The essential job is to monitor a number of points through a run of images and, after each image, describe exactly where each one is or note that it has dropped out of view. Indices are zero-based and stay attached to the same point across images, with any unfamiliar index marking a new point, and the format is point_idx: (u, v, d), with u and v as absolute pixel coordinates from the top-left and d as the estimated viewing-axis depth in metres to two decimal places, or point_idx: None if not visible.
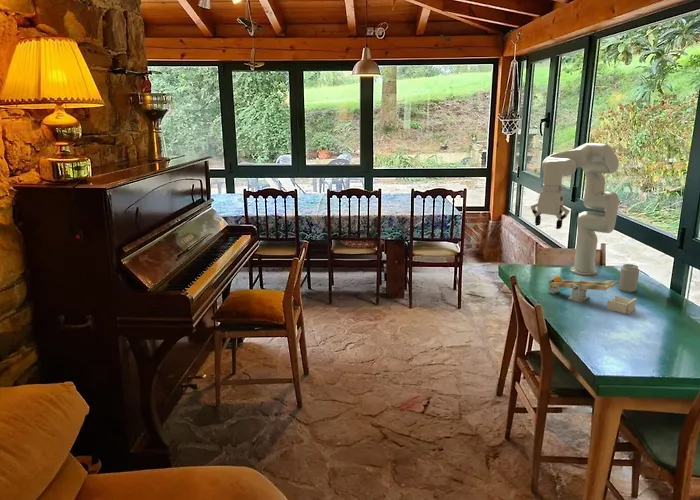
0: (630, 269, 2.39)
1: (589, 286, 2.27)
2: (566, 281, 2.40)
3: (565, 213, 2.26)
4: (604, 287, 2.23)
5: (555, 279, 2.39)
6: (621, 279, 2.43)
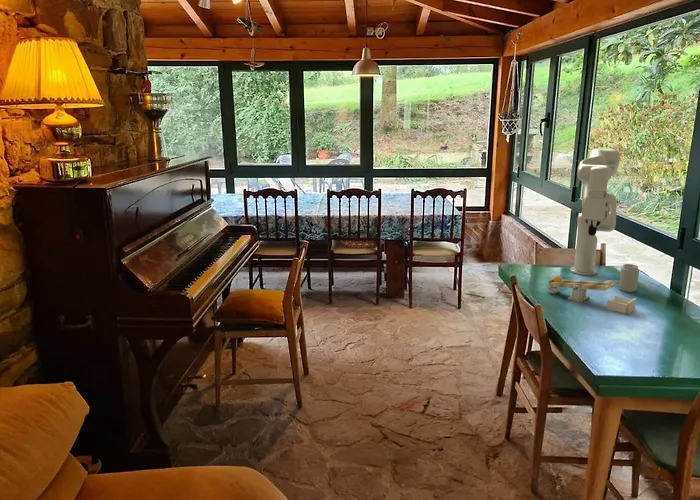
0: (630, 269, 2.39)
1: (589, 286, 2.27)
2: (566, 281, 2.40)
3: (601, 222, 2.34)
4: (604, 287, 2.23)
5: (555, 279, 2.39)
6: (621, 279, 2.43)
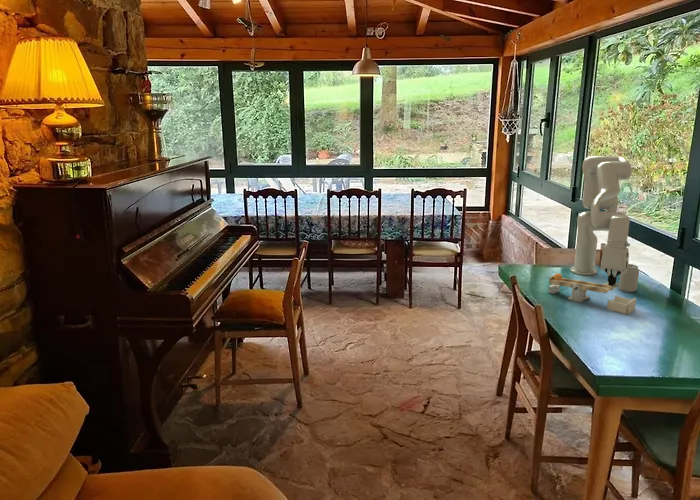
0: (630, 269, 2.39)
1: (589, 287, 2.27)
2: (566, 279, 2.40)
3: (622, 272, 2.26)
4: (604, 290, 2.23)
5: (556, 277, 2.39)
6: (621, 279, 2.43)
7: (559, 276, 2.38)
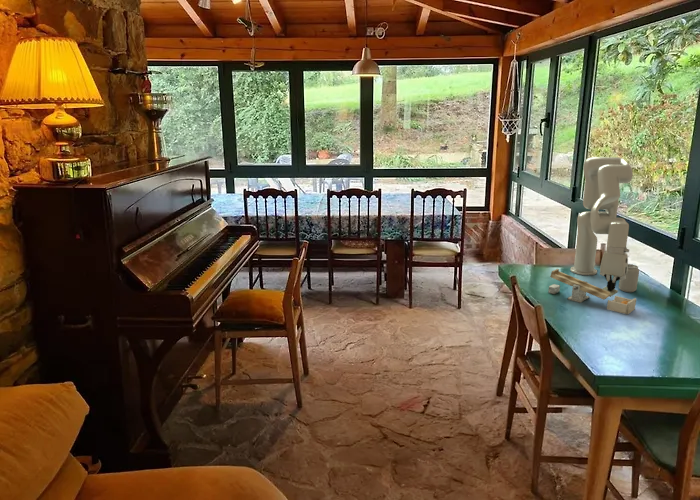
0: (630, 269, 2.39)
1: (589, 290, 2.28)
2: (567, 276, 2.39)
3: (621, 278, 2.27)
4: (603, 296, 2.24)
5: None
6: None
7: (622, 302, 2.21)
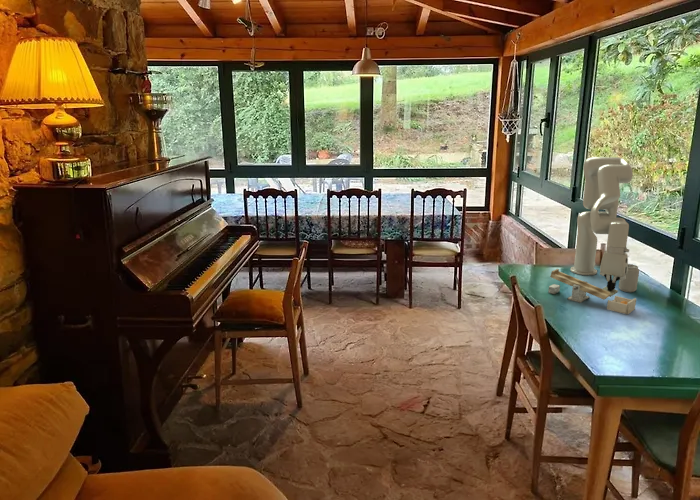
0: (630, 269, 2.39)
1: (589, 290, 2.28)
2: (567, 276, 2.39)
3: (621, 278, 2.27)
4: (603, 296, 2.24)
5: None
6: None
7: None
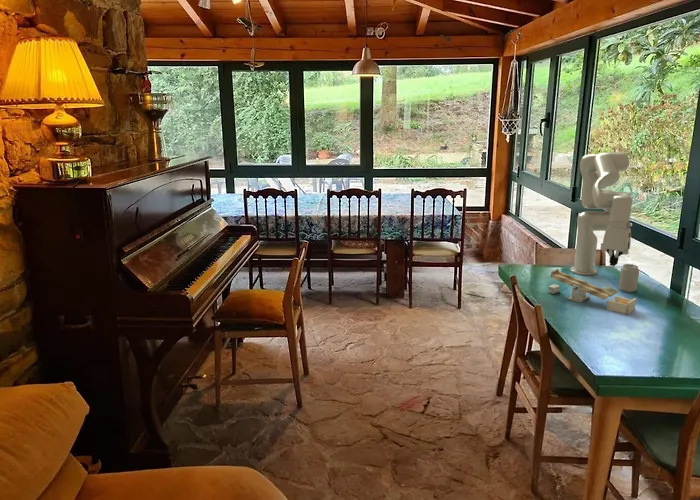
0: (630, 269, 2.39)
1: (589, 290, 2.28)
2: (567, 276, 2.39)
3: (623, 252, 2.24)
4: (603, 296, 2.24)
5: None
6: (621, 279, 2.43)
7: None
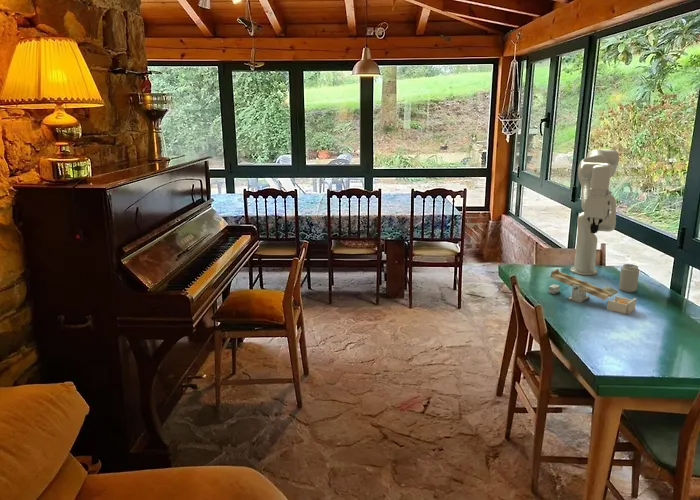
0: (630, 269, 2.39)
1: (589, 290, 2.28)
2: (567, 276, 2.39)
3: (603, 220, 2.36)
4: (603, 296, 2.24)
5: None
6: (621, 279, 2.43)
7: None
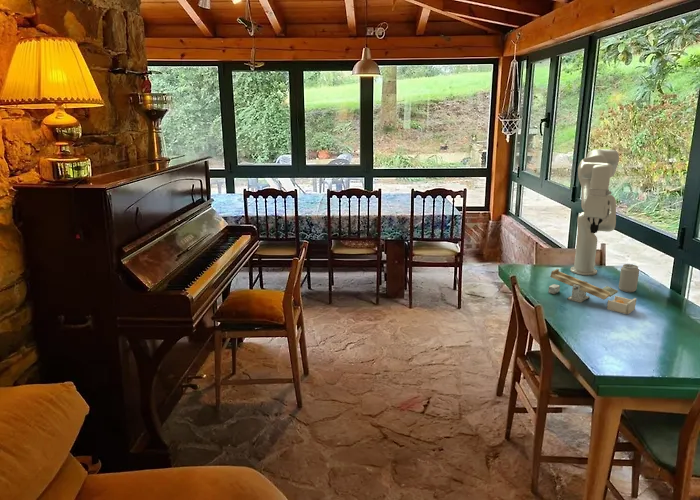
0: (630, 269, 2.39)
1: (589, 290, 2.28)
2: (567, 276, 2.39)
3: (603, 220, 2.36)
4: (603, 296, 2.24)
5: None
6: (621, 279, 2.43)
7: None
